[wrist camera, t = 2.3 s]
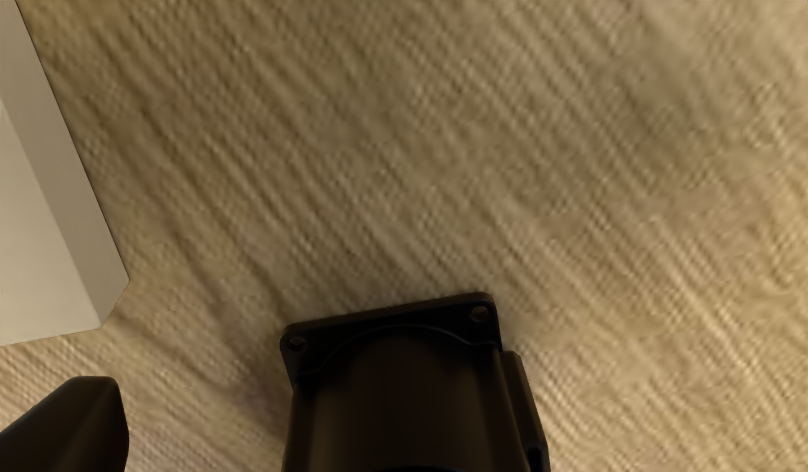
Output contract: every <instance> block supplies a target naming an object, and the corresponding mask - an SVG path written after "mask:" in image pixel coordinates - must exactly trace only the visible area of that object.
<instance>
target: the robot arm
mask: <svg viewBox="0 0 808 472" xmlns="http://www.w3.org/2000/svg"><path fill="white" fill-rule="evenodd" d="M478 306H484V307H485V308H486V309H485V310H484V312H482V313H474V312H472V310H473V309H474V308H475V307H478ZM293 338H299V339H301V340H303V342H304V343H302V344H300V345H297V344H293V343H291V341H290V340H291V339H293ZM279 344H280V351H281V354H282V357H283V360H284V363H285V366H286V369H287V373H288V376H289V379H290V382H291V385H292V388H293V397H292V403H291V410H290V416H289V423H288V429H287V436H286V442H285V448H284V455H283V461H282V468H281V472H551V469H550V461H549V453H548V445H547V441H546V438H545V435H544V431H543V428H542V425H541V422H540V418H539V415H538V412H537V409H536V406H535V402H534V399H533V396H532V393H531V389H530V386H529V383H528V380H527V376H526V373H525V370H524V367H523V363H522V360H521V357H520V355H518V354H517V353H515V352H514V351H512V350H511V351H506V352H503V349H502V342H501V336H500V329H499V322H498V315H497V309H496V306H495V303H494V300H493V298H492V297H491V296H490V295H489V294H487V293H484V292H473V293H467V294H462V295H456V296H450V297H444V298H439V299H433V300H427V301H422V302H416V303H410V304H404V305H399V306H393V307H387V308H382V309H376V310H370V311H364V312H359V313H353V314H347V315H342V316H336V317H330V318H325V319H319V320H313V321H307V322H302V323H296V324H292V325H289V326H287V327H286V328H285V329H284V330H283V331H282V334H281V337H280V342H279ZM128 452H129V430H128V426H127V421H126V417H125V412H124V408H123V403H122V399H121V394H120V389H119V386H118V384H117V382H116V381H115V379H113V378H111V377H107V376H77V377H73V378H71V379H69V380H67V381H66V382H65V383H63V384H62V385H61V386H59V387H58V388H57V389H56V390H54V391H53V392H52V393H50V394H49V395H48V396H47V397H45V398H44V399H43V400H41V401H40V402H39V403H38V404H36V405H35V406H34V407H32V408H31V409H30V410H29V411H27V412H26V413H25V414H23V415H22V416H21V417H20V418H18V419H17V420H16V421H14V422H13V423H12V424H11V425H9V426H8V427H7V428H5V429H4V430H3V431H2V432H0V472H124V470H125V466H126V462H127V457H128Z"/></svg>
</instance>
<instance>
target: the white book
mask: <svg viewBox="0 0 808 472" xmlns="http://www.w3.org/2000/svg"><path fill="white" fill-rule="evenodd" d="M128 283H129V278H128V275H127V273H126V270H125V268H124V266H123V263H122V261H121V258H120V256H119V253H118V251H117V249H116V246H115V244H114V241H113V239H112V236H111V234H110V231H109V229H108V227H107V224H106V222H105V219H104V217H103V214H102V212H101V209H100V207H99V205H98V202H97V200H96V197H95V195H94V192H93V190H92V188H91V185H90V183H89V180H88V178H87V175H86V173H85V170H84V168H83V166H82V163H81V161H80V158H79V156H78V153H77V151H76V149H75V146H74V144H73V141H72V139H71V136H70V134H69V131H68V129H67V127H66V124H65V122H64V119H63V117H62V114H61V112H60V109H59V107H58V105H57V102H56V100H55V97H54V95H53V92H52V90H51V88H50V85H49V83H48V80H47V78H46V75H45V73H44V70H43V68H42V66H41V63H40V61H39V58H38V56H37V53H36V51H35V49H34V46H33V44H32V41H31V39H30V36H29V34H28V31H27V29H26V27H25V24H24V22H23V19H22V17H21V14H20V12H19V9H18V7H17V5H16V2H15V0H0V346H6V345H12V344H17V343H23V342H28V341H34V340H39V339H45V338H51V337H56V336H62V335H67V334H73V333H78V332H84V331H89V330H95V329H100V328H101V327H103V325H104V323H105V322H106V320H107V318H108V317H109V315H110V313H111V312H112V310H113V308H114V307H115V305H116V303H117V302H118V300H119V298H120V296H121V295H122V293H123V291H124V290H125V288H126V286H127V285H128Z"/></svg>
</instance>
